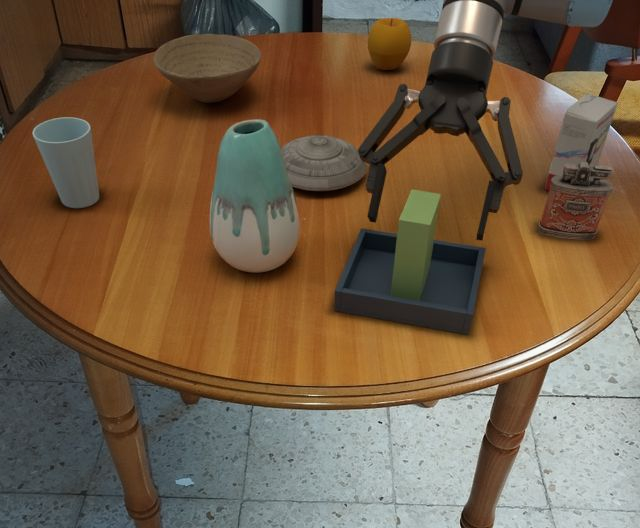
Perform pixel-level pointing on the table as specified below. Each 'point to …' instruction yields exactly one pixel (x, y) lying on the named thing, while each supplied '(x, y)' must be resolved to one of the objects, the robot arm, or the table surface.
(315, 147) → the flying saucer
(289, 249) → the vase
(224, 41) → the bowl
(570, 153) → the ink box
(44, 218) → the table surface
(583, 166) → the lighter
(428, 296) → the tray
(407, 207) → the sponge
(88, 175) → the cup
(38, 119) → the table surface
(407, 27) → the apple
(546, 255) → the table surface
